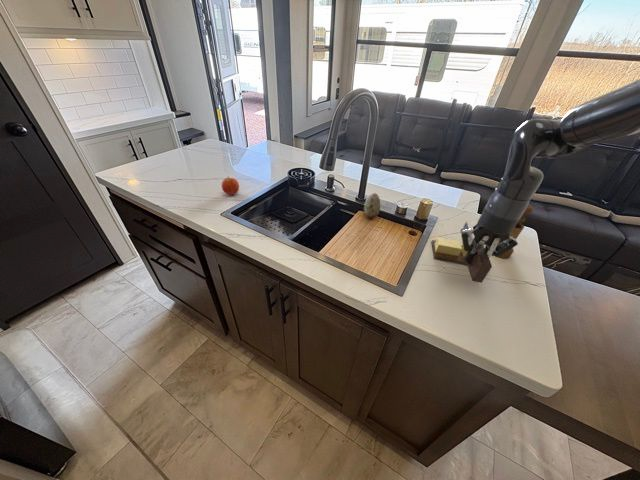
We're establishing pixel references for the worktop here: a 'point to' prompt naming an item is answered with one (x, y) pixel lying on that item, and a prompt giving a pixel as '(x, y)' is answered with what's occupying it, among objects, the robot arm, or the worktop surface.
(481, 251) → the knife
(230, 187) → the fruit
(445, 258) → the butter board
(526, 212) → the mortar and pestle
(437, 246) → the butter stick
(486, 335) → the worktop surface
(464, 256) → the butter pat
